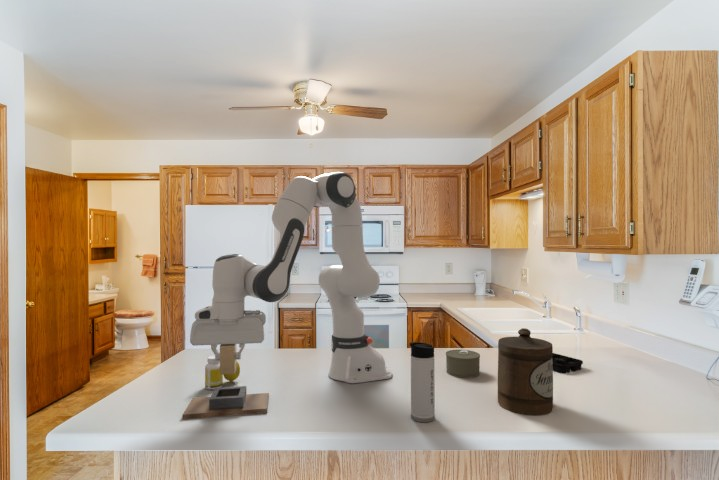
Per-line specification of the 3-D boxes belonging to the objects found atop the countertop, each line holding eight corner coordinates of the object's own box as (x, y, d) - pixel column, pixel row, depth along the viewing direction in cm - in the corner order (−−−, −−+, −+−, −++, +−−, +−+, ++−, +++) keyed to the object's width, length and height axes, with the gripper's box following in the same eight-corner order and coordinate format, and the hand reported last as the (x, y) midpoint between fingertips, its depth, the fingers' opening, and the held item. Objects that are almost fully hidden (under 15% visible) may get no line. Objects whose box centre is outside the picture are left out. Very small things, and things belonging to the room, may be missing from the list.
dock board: (268, 396, 125) (268, 392, 125) (267, 412, 113) (267, 408, 113) (192, 402, 121) (192, 397, 121) (182, 419, 109) (182, 414, 109)
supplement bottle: (226, 385, 135) (226, 355, 135) (215, 391, 130) (215, 360, 130) (212, 383, 137) (212, 354, 137) (201, 389, 132) (201, 358, 132)
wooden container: (549, 420, 108) (548, 336, 108) (492, 408, 115) (491, 330, 116) (556, 401, 120) (555, 326, 120) (504, 392, 128) (503, 321, 128)
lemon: (234, 385, 135) (234, 361, 135) (219, 384, 136) (219, 360, 136) (242, 380, 140) (242, 356, 140) (228, 379, 141) (228, 355, 141)
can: (443, 375, 144) (443, 356, 144) (448, 366, 155) (448, 348, 155) (478, 380, 140) (478, 359, 140) (481, 370, 151) (481, 351, 151)
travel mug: (407, 413, 112) (407, 340, 112) (431, 412, 113) (430, 339, 113) (412, 423, 106) (412, 346, 106) (437, 422, 106) (437, 345, 107)
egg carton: (515, 351, 178) (515, 343, 178) (590, 367, 155) (590, 357, 155) (493, 359, 166) (493, 349, 166) (570, 377, 143) (570, 366, 143)
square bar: (236, 369, 119) (236, 342, 119) (234, 373, 115) (234, 345, 115) (221, 370, 118) (222, 342, 118) (219, 374, 114) (219, 346, 114)
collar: (246, 396, 122) (246, 386, 122) (243, 408, 113) (243, 397, 113) (214, 398, 120) (214, 388, 120) (209, 410, 111) (209, 399, 112)
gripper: (266, 308, 122) (265, 354, 122) (193, 310, 118) (193, 358, 118) (265, 311, 116) (264, 360, 115) (188, 313, 112) (188, 364, 112)
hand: (228, 359), depth 117 cm, fingers closed on square bar, 4 cm apart
